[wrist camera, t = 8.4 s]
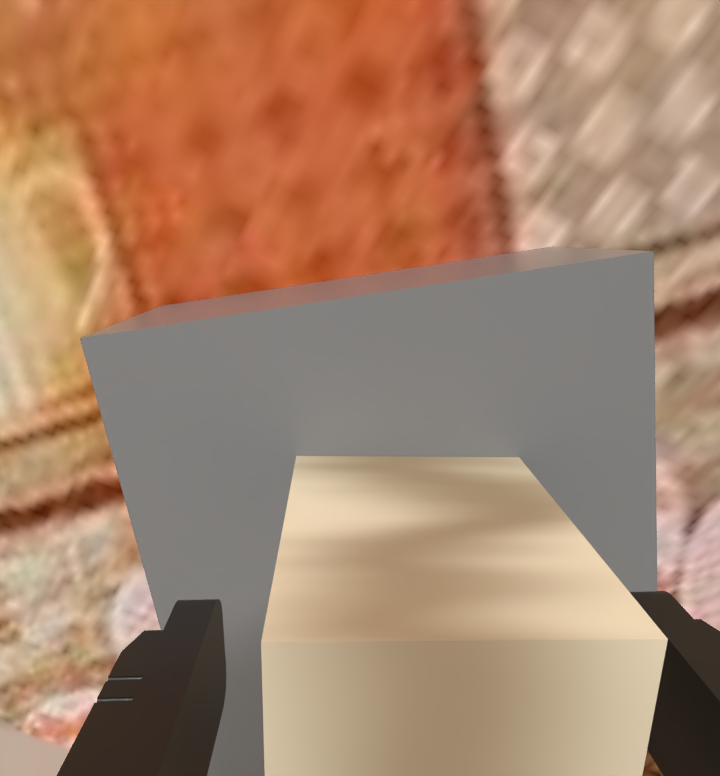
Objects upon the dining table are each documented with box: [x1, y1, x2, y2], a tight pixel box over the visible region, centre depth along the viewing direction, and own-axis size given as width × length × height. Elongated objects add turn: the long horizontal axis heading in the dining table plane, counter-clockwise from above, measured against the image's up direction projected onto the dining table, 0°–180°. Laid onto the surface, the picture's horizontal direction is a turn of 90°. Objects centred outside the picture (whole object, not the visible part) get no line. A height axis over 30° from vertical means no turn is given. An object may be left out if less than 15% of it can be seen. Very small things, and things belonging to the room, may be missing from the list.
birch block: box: [261, 456, 668, 776], centre depth 10 cm, size 5×5×6 cm
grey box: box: [80, 247, 657, 776], centre depth 16 cm, size 12×12×6 cm
